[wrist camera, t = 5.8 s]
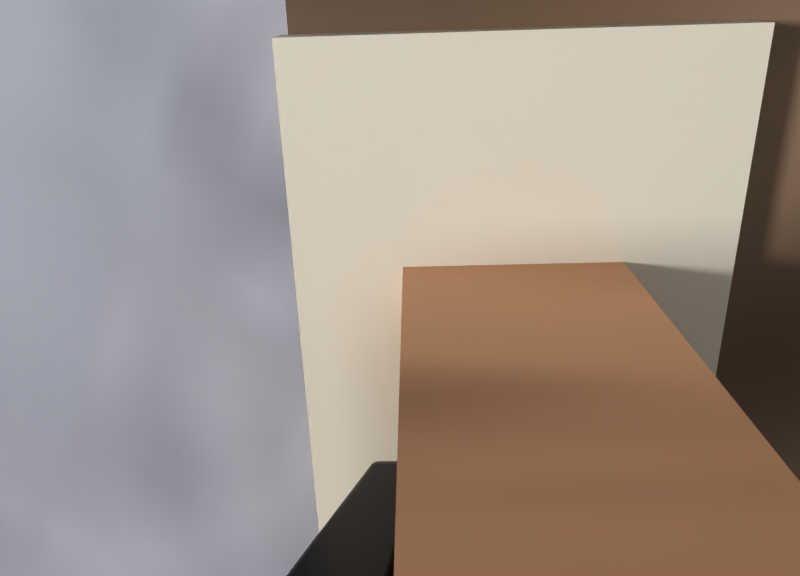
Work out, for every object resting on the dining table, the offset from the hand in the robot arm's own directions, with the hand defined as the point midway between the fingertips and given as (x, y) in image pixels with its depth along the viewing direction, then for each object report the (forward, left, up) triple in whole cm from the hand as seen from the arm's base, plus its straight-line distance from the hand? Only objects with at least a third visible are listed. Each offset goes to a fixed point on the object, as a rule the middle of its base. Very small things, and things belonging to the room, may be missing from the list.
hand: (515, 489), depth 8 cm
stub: (0, 0, -1) cm, 1 cm away
